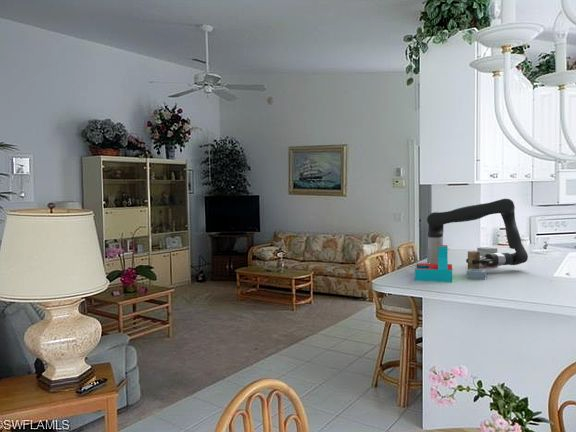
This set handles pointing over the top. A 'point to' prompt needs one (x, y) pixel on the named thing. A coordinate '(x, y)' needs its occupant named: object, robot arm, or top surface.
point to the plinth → (476, 274)
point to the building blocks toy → (435, 268)
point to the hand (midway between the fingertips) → (469, 261)
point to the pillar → (473, 256)
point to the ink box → (486, 252)
